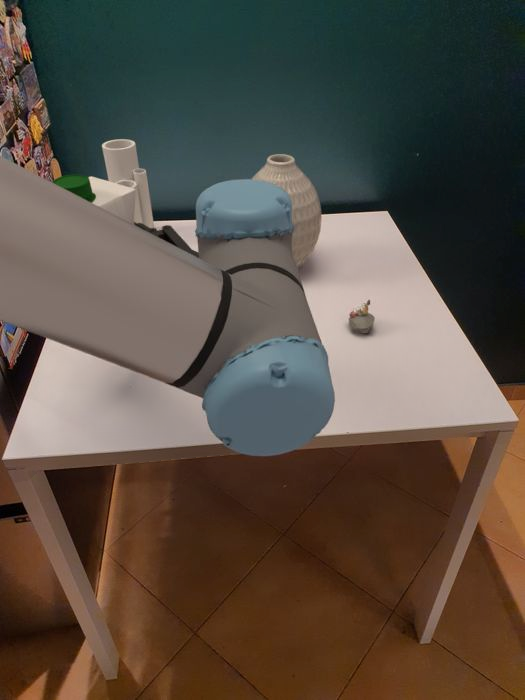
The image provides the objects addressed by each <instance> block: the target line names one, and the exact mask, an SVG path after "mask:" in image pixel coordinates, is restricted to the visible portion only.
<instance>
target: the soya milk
mask: <svg viewBox="0 0 525 700" xmlns="http://www.w3.org/2000/svg"><path fill="white" fill-rule="evenodd" d="M51 182H52V183H54V184H56V185H58V186H60V187H62V188H64V189H66V190H68V191H70V192H72V193H73V194H75V195H77V196H79V197H81V198H83V199H85V200H87V201H89V202H91V203H93V204H95V205H97V206H99V207H101V208H103V209H104V210H106V211H108V212H110V213H112V214H114V215H116V216H118V217H120V218H122V219H124V220H126V221H128V222H130V223H132V224H133V225H134V208H135V191H136V189H133V188H130V187H126V186H123V185H120V184H116V183H113V182H109V180H106V179H102V178H98V177H96V176H92V175H91V176H86V175H84V174H66V175H62V176H59V177H57V178H55V179H54V180H52V181H51Z"/></svg>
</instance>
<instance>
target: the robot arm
mask: <svg viewBox="0 0 525 700" xmlns="http://www.w3.org/2000/svg"><path fill="white" fill-rule="evenodd" d="M52 182H53V181H50V180H48V179H47V178H45V177H43V176H40V175H38V174H37V173H35V172H33V171H31V170H29V169H27V168H25V167H23V166H22V165H19V164H17V163H15V162H13V161H11V160H9V159H7V158H6V157H4V156H2V155H0V322H2V323H4V324H5V323H6V324H8V325H11V326H13V327H16V328H18V329H21V330H24V331H26V332H29V333H32V334H33V335H37V336H39V337H42V338H45V339H48V340H50V341H53V342H56V343H58V344H61V345H63V346H66V347H69V348H71V349H74V350H76V351H79V352H81V353H85V354H87V355H90V356H92V357H95V358H98V359H101V360H103V361H106V362H107V363H110V364H113V365H116V366H118V367H122V368H124V369H127V370H130V371H132V372H135V373H138V374H140V375H143V376H145V377H148V378H151V379H154V380H156V381H159V382H161V383H163V384H167V385H169V386H171V387H174V388H176V389H179V390H180V391H183V392H185V393H188V394H191V395H193V396H197V397H198V398H201V399H202V404H201V407H202V410H203V411H204V412H205V416H206V421H207V425H208V428H209V430H210V432H211V433H212V434H213V435H214V436H215V438H217V439H218V440H219V441H221V442H222V444H223V446H224V447H226V448H228V449H229V450H231V451H233V452H236V453H239V454H243V455H244V456H245V455H246V456H251V457H271V456H278V455H283V454H286V453H290V452H293V451H295V450H298V449H300V448H302V447H304V446H306V445H307V444H308V443H310V442H312V440H314V439H315V437H316V436H317V435H319V434H321V432H322V430H324V429H325V427H326V426H327V425H328V424H329V421H330V420H331V418H332V416H333V412H334V409H335V402H336V396H335V389H334V385H333V379H332V376H331V370H330V366H329V355H328V352H327V350H326V348H325V345H324V344H323V342H322V338H321V337H320V334H319V331H318V328H317V326H316V321H315V319H314V317H313V313H312V311H311V308H310V306H309V305H310V304H309V302H308V299H307V296H306V292H305V289H304V286H303V283H302V279H301V276H300V273H299V271H298V268H297V267H296V264H295V261H294V258H293V254H292V234H293V232H294V225H293V224H292V201H291V198H290V196H289V195H288V193H287V192H286V191H285V190H283V189H282V188H281V187H279V186H277V185H275V184H272V183H269V182H266V181H260V180H252V178H243V179H229V180H225V181H221V182H218V183H215V184H212V185H210V186H209V187H207V188H206V189H204V190H203V191H202V192H201V193H200V195H199V196H198V197H197V199H196V203H195V222H196V223H195V225H196V226H195V227H196V228H195V230H194V233H195V237H196V238H197V239H196V240H197V251H196V250H194V249H192V248H191V247H190V246H189V244H188V243H187V242H186V241H185V240H184V239H183V237H182V236H181V235H179V233H178V232H177V231H176V230H175V229H174V228H173V227H172V225H169V224H166V225H162V226H161V229H157V228H156V227H154V228H149V227H147V226H146V225H144V224H142V223H135V222H134V225H133V224H132V223H130V222H128V221H126V220H124V219H122V218H120V217H118V216H116V215H114V214H112V213H110V212H108V211H106V210H104V209H103V208H101V207H99V206H97V205H95V204H93V203H91V202H89V201H87V200H85V199H83V198H81V197H79V196H77V195H75V194H73V193H72V192H70V191H68V190H66V189H64V188H62V187H60V186H58V185H56V184H54V183H52Z"/></svg>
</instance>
